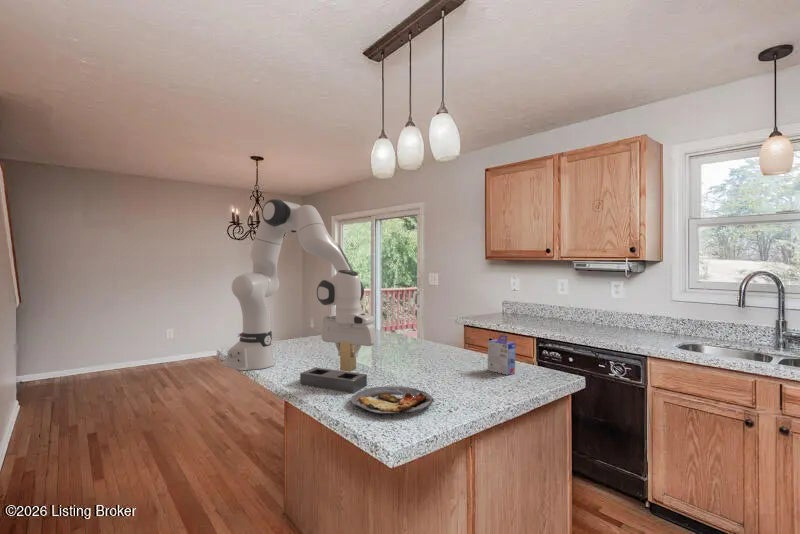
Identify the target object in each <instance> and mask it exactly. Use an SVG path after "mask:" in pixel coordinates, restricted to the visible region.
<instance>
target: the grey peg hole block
mask: <svg viewBox="0 0 800 534" xmlns="http://www.w3.org/2000/svg"><path fill="white" fill-rule="evenodd" d="M299 373H300V374H299V375H300V377H299V378H300V379H299V382H300V384H302V385H301V386H306V385H308V386H307V387H312V386H313V387H314V388H318V387H319V388H318V389H324V388H325V389H326V390H330V389H331V390H332V391H336V392H337V391H339V392H344V393H350V394H356V393H358V392H359V391H361V390H362V389H364V388H365V387H367V386H368V374H367V373H359V372H353V371H351V372H349V371H341V370H338V369H330V368H323V367H322V368H321V367H313V368H311V369H307V370H305V371H303V372H299ZM300 384H299V385H300ZM313 387H312V388H313ZM325 389H324V390H325Z"/></svg>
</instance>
